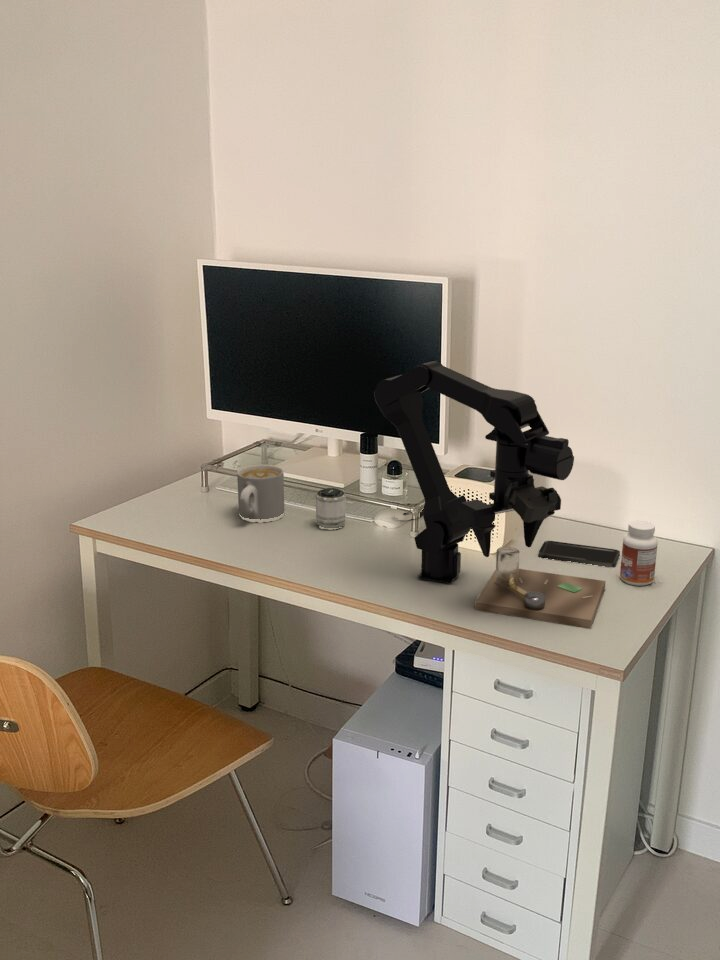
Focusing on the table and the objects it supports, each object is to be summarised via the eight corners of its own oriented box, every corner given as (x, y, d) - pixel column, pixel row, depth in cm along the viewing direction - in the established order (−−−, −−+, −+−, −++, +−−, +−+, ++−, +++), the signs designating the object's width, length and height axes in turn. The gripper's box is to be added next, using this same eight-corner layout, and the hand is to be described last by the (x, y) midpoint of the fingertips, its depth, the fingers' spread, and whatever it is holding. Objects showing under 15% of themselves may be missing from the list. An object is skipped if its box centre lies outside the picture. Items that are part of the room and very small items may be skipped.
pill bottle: (614, 573, 193) (619, 519, 189) (646, 572, 193) (651, 517, 190) (626, 587, 187) (631, 531, 183) (658, 586, 188) (664, 529, 184)
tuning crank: (550, 606, 175) (552, 568, 173) (531, 611, 174) (534, 572, 171) (503, 578, 186) (505, 542, 184) (485, 582, 185) (487, 546, 182)
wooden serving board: (474, 609, 178) (475, 601, 178) (497, 573, 193) (498, 564, 193) (590, 628, 171) (591, 619, 171) (604, 588, 187) (605, 580, 186)
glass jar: (311, 528, 215) (310, 493, 213) (323, 519, 221) (323, 484, 218) (338, 532, 213) (338, 497, 211) (350, 522, 219) (350, 488, 216)
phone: (545, 540, 207) (620, 549, 202) (545, 545, 207) (620, 555, 202) (537, 554, 200) (615, 564, 195) (537, 559, 201) (614, 570, 195)
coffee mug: (257, 504, 230) (256, 462, 227) (293, 512, 225) (292, 469, 222) (219, 522, 219) (217, 478, 216) (256, 531, 214) (254, 486, 211)
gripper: (496, 490, 165) (491, 578, 170) (585, 472, 173) (578, 557, 178) (456, 470, 174) (453, 555, 179) (543, 455, 182) (538, 536, 187)
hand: (507, 551), depth 181 cm, fingers open, 9 cm apart
